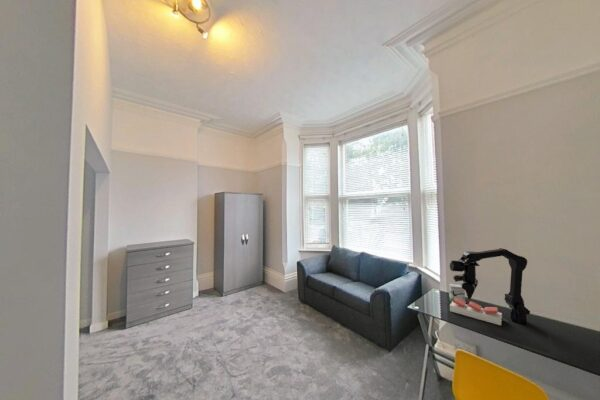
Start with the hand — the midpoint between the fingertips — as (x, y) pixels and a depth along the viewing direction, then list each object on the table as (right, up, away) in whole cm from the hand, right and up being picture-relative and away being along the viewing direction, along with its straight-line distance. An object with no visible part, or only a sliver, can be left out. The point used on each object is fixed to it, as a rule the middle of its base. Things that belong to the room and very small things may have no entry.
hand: (470, 296), depth 136 cm
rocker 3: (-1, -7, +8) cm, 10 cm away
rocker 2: (+4, -7, +2) cm, 8 cm away
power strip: (+5, -12, +1) cm, 13 cm away
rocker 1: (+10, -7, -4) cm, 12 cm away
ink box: (+7, -13, +21) cm, 26 cm away
